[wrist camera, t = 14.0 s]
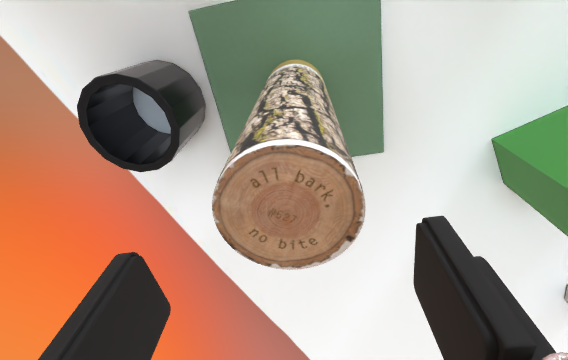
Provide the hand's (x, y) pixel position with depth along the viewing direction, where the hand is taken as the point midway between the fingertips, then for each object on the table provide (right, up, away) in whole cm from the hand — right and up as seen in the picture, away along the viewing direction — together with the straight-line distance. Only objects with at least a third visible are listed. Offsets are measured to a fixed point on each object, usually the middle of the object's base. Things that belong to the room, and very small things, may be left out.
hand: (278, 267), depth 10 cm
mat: (+2, +14, +25) cm, 29 cm away
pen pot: (-15, +13, +27) cm, 33 cm away
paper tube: (+2, +14, +25) cm, 29 cm away
